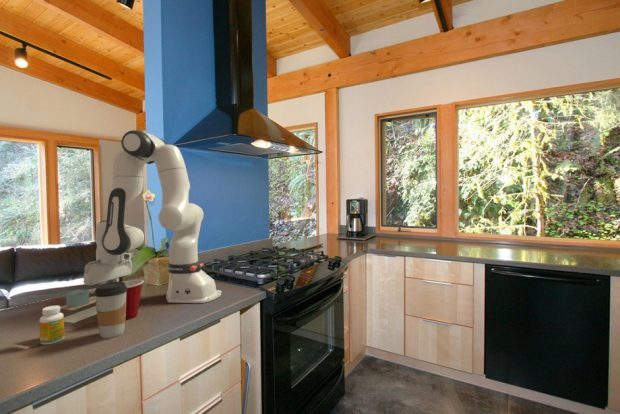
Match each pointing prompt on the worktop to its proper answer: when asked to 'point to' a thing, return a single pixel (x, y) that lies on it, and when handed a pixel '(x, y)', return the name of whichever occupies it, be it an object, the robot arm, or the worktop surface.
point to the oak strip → (91, 300)
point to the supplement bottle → (51, 325)
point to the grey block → (81, 315)
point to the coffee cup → (111, 308)
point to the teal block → (77, 298)
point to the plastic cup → (133, 297)
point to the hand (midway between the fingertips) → (109, 290)
